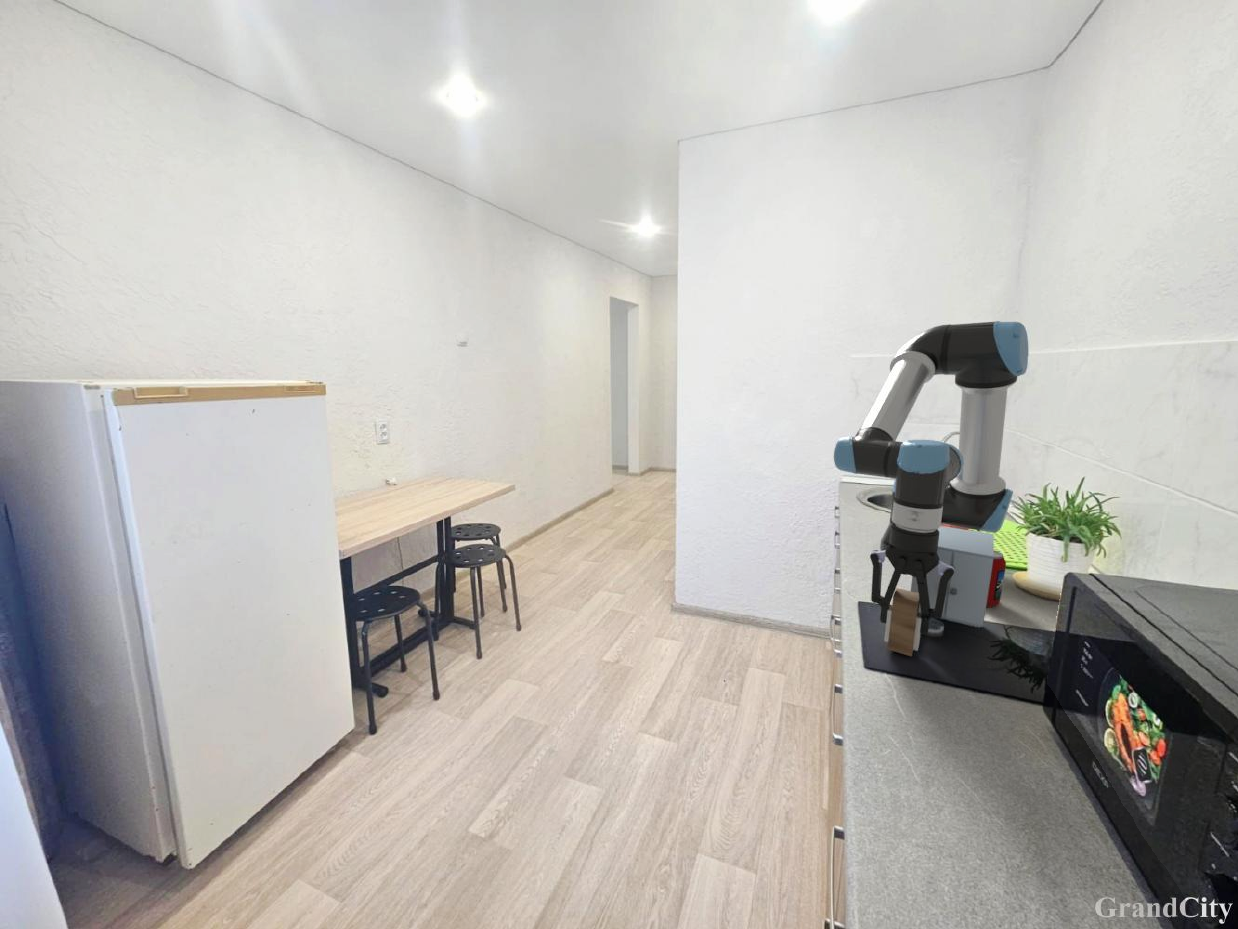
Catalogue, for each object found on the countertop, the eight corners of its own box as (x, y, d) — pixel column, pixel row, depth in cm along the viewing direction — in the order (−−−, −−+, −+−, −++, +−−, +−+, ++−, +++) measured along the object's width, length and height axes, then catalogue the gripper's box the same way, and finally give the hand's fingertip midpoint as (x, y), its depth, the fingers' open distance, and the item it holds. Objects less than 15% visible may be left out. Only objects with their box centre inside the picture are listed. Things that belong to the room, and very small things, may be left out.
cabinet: (913, 607, 109) (924, 523, 105) (979, 624, 102) (993, 534, 98) (904, 638, 97) (915, 544, 93) (978, 659, 90) (993, 558, 86)
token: (915, 622, 104) (916, 613, 103) (943, 629, 101) (944, 620, 100) (913, 633, 100) (914, 624, 99) (942, 640, 97) (943, 631, 96)
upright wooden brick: (900, 612, 106) (906, 565, 103) (922, 617, 103) (928, 569, 101) (887, 649, 92) (893, 596, 90) (911, 656, 90) (918, 602, 88)
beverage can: (1005, 610, 108) (1014, 559, 105) (971, 607, 109) (979, 557, 107) (989, 595, 114) (997, 548, 112) (957, 593, 116) (964, 546, 113)
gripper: (859, 522, 90) (848, 637, 95) (972, 542, 80) (954, 668, 85) (867, 512, 96) (857, 620, 101) (974, 529, 86) (957, 648, 90)
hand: (901, 642), depth 93 cm, fingers closed on upright wooden brick, 4 cm apart
